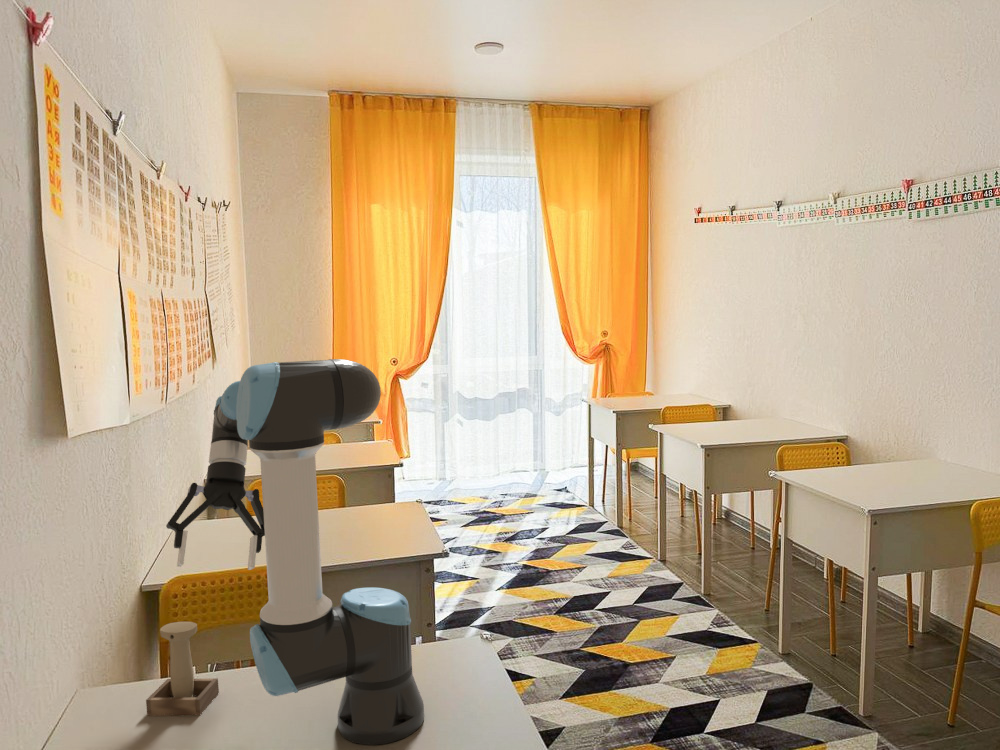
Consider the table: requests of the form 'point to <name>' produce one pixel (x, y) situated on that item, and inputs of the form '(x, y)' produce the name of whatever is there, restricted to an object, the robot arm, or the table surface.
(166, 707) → the socket block
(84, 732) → the table surface
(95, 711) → the table surface
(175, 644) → the handle
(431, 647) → the table surface
